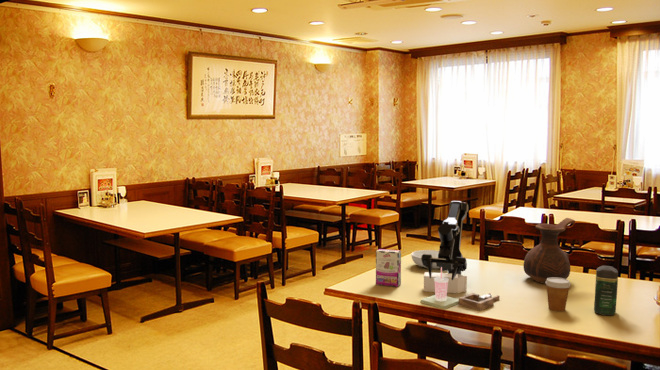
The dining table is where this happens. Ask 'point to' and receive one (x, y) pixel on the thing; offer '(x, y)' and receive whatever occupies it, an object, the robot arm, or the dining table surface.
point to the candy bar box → (388, 267)
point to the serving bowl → (418, 254)
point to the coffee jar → (606, 290)
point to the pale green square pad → (440, 302)
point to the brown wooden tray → (473, 303)
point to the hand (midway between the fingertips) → (441, 278)
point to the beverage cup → (441, 288)
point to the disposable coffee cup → (557, 293)
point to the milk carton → (453, 285)
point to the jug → (548, 254)
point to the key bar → (483, 297)
